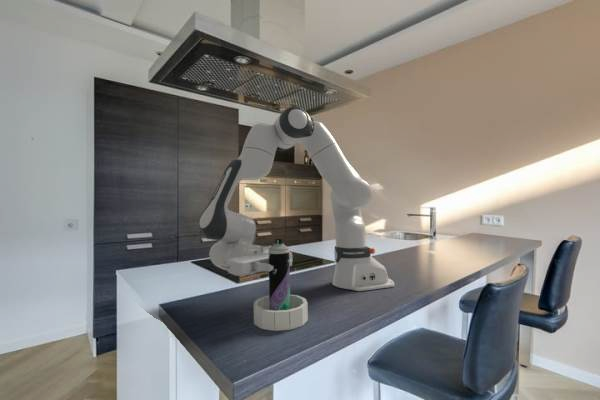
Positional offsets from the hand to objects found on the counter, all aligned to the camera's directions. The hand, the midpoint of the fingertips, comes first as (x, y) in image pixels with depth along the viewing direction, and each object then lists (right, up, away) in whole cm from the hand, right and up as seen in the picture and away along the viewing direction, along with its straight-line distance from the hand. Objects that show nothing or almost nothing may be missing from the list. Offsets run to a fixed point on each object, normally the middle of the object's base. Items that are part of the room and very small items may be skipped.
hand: (281, 265), depth 78 cm
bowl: (0, -14, 0) cm, 14 cm away
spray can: (0, -13, 0) cm, 13 cm away
